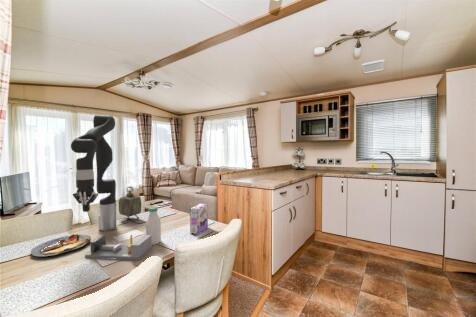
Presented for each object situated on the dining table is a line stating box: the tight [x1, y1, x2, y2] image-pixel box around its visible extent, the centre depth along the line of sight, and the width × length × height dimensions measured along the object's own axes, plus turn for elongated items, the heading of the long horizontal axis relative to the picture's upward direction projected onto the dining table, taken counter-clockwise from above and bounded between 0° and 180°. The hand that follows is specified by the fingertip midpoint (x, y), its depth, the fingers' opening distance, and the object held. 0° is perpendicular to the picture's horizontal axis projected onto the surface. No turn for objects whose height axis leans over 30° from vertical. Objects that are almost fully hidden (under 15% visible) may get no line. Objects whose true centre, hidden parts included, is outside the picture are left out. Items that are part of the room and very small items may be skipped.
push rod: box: [89, 235, 123, 252], centre depth 109 cm, size 12×8×5 cm, turn 84°
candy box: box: [189, 203, 209, 235], centre depth 138 cm, size 14×6×16 cm, turn 161°
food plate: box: [30, 234, 92, 257], centre depth 115 cm, size 25×23×4 cm
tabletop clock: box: [118, 186, 142, 221], centre depth 160 cm, size 14×9×25 cm, turn 66°
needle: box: [127, 234, 135, 253], centre depth 107 cm, size 1×5×8 cm, turn 174°
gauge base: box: [84, 234, 153, 262], centre depth 108 cm, size 28×12×8 cm, turn 84°
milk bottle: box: [145, 206, 162, 246], centre depth 120 cm, size 8×8×20 cm
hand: (86, 211), depth 109 cm, fingers closed
